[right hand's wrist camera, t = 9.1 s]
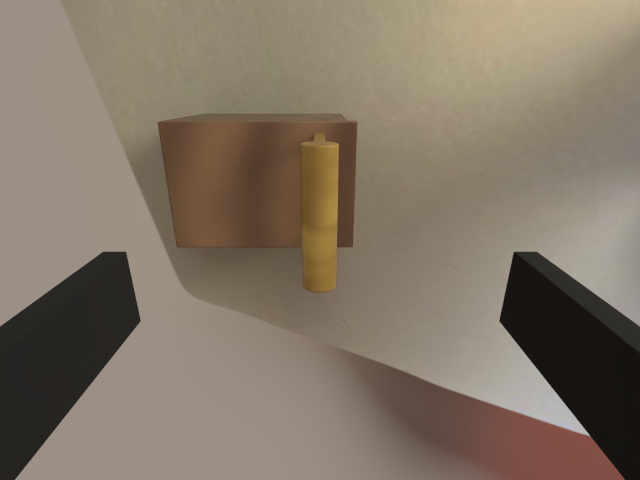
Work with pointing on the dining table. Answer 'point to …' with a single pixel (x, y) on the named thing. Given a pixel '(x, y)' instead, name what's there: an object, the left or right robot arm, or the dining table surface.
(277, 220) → the lid
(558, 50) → the dining table surface
